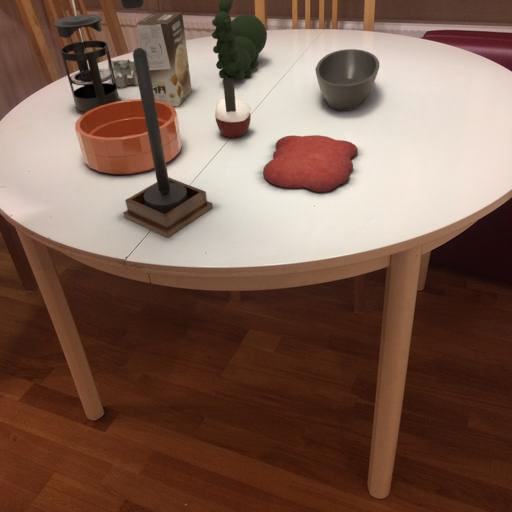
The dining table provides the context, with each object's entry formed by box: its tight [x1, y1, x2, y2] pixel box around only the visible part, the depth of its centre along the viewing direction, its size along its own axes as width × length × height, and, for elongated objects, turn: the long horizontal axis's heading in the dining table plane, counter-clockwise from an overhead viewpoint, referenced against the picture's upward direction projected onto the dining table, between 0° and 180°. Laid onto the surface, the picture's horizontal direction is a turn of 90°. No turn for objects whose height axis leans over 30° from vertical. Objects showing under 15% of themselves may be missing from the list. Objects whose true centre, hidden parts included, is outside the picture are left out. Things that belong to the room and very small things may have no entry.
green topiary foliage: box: [211, 0, 268, 80], centre depth 117 cm, size 9×19×25 cm
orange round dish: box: [74, 98, 183, 175], centre depth 89 cm, size 17×17×6 cm
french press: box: [53, 0, 122, 115], centre depth 103 cm, size 12×9×23 cm
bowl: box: [315, 48, 380, 112], centre depth 104 cm, size 12×22×6 cm, turn 167°
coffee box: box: [136, 11, 193, 107], centre depth 106 cm, size 9×6×16 cm
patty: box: [262, 134, 358, 193], centre depth 84 cm, size 18×14×2 cm
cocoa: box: [214, 77, 252, 139], centre depth 91 cm, size 10×6×12 cm, turn 158°
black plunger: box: [132, 47, 188, 214], centre depth 68 cm, size 6×6×22 cm
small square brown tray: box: [122, 176, 214, 238], centre depth 74 cm, size 9×9×3 cm
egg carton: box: [107, 58, 139, 89], centre depth 121 cm, size 11×8×4 cm
